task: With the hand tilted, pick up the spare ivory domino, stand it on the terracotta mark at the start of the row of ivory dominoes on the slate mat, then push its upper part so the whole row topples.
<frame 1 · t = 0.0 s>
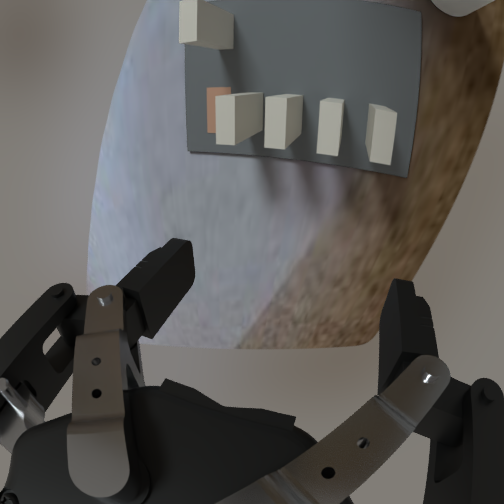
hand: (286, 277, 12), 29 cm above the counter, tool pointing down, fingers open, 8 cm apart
domino 2: (255, 111, 36), resting on slate mat
domino 4: (334, 118, 33), resting on slate mat
domino 3: (294, 113, 35), resting on slate mat
domino 5: (375, 124, 32), resting on slate mat
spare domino: (226, 32, 31), resting on slate mat
slate mat: (296, 75, 32), on the counter
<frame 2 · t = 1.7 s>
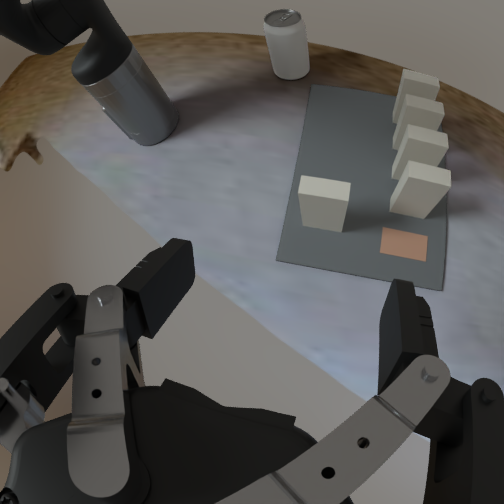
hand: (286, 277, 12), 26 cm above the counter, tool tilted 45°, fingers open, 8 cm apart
domino 2: (407, 208, 36), resting on slate mat
domino 4: (408, 146, 38), resting on slate mat
can: (291, 70, 47), on the counter
domino 3: (408, 175, 37), resting on slate mat
domino 5: (407, 121, 39), resting on slate mat
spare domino: (323, 221, 38), resting on slate mat
slate mat: (374, 170, 39), on the counter
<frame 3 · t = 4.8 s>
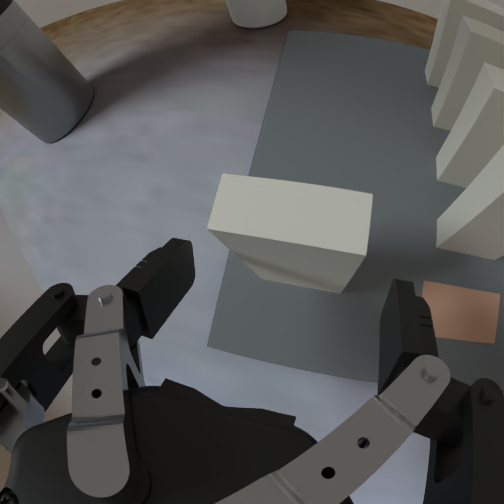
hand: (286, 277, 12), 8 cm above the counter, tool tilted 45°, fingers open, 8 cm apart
domino 2: (467, 240, 17), resting on slate mat
domino 4: (458, 124, 19), resting on slate mat
can: (260, 17, 27), on the counter
domino 3: (465, 176, 18), resting on slate mat
domino 5: (450, 84, 20), resting on slate mat
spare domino: (304, 270, 19), resting on slate mat
slate mat: (404, 164, 20), on the counter
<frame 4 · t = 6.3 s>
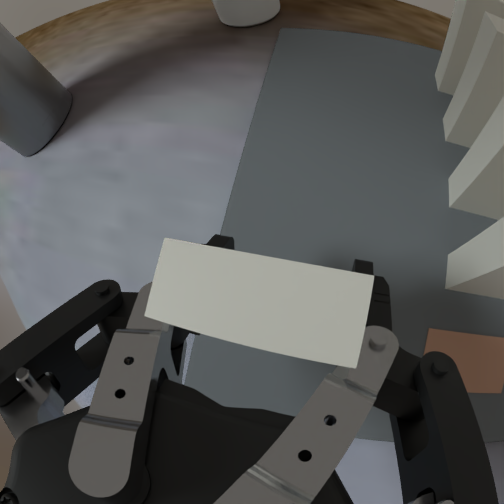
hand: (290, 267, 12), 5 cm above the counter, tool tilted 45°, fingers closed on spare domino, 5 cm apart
domino 2: (480, 278, 14), resting on slate mat
domino 4: (473, 138, 16), resting on slate mat
can: (250, 14, 24), on the counter
domino 3: (480, 201, 15), resting on slate mat
domino 5: (463, 90, 17), resting on slate mat
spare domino: (290, 317, 16), point 1 cm above the counter, touching gripper, slate mat
slate mat: (411, 187, 17), on the counter
when the fingers open (6 cm above the counter, at t = 11.6 s): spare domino stays where it is, resting on slate mat.
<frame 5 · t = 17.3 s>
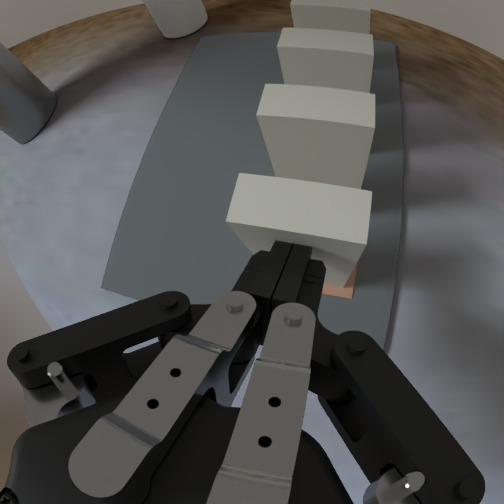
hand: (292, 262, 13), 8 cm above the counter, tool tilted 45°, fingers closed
domino 2: (320, 196, 21), resting on slate mat
domino 4: (334, 95, 23), resting on slate mat
can: (186, 27, 32), on the counter
domino 3: (328, 140, 22), resting on slate mat
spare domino: (308, 266, 20), point 1 cm above the counter, touching gripper, slate mat
slate mat: (267, 137, 24), on the counter
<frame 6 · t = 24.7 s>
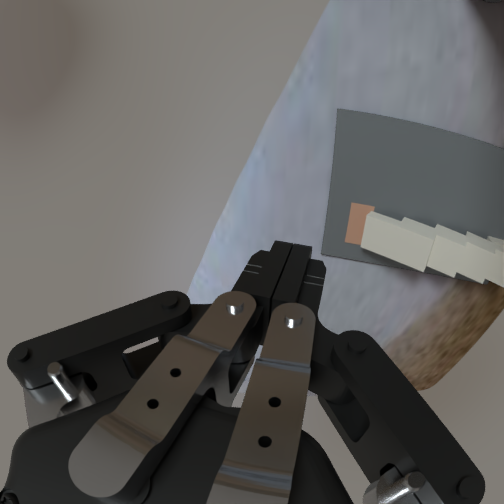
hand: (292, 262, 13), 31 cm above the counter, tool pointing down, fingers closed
domino 2: (399, 234, 40), point 1 cm above the counter, tilted 67°, touching domino 3, slate mat, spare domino
domino 4: (461, 248, 37), point 2 cm above the counter, tilted 66°, touching domino 3, domino 5
domino 3: (431, 241, 39), point 1 cm above the counter, tilted 66°, touching domino 2, domino 4, slate mat
domino 5: (484, 253, 36), point 1 cm above the counter, tilted 90°, touching domino 4, slate mat
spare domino: (366, 229, 41), point 2 cm above the counter, tilted 67°, touching domino 2, slate mat
slate mat: (430, 204, 38), on the counter
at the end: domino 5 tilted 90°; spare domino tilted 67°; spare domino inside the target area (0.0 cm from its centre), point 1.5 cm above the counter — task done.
